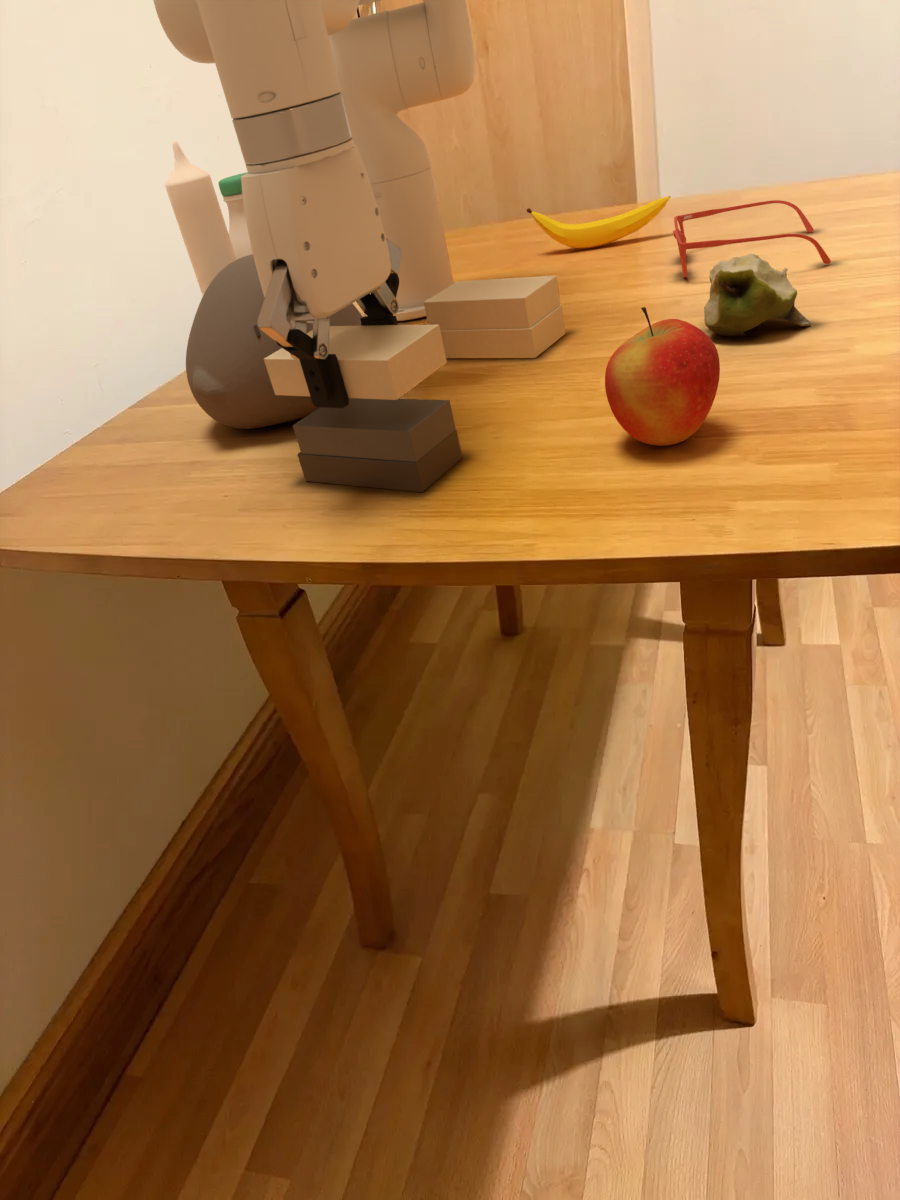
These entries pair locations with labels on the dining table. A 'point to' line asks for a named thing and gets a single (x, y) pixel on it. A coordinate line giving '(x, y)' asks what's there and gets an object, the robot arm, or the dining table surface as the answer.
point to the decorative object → (241, 353)
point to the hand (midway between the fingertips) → (361, 383)
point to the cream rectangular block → (368, 360)
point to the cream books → (498, 317)
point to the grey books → (379, 443)
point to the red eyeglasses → (713, 243)
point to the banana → (599, 226)
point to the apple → (663, 381)
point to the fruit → (748, 296)
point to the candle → (199, 219)
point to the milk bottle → (236, 215)
